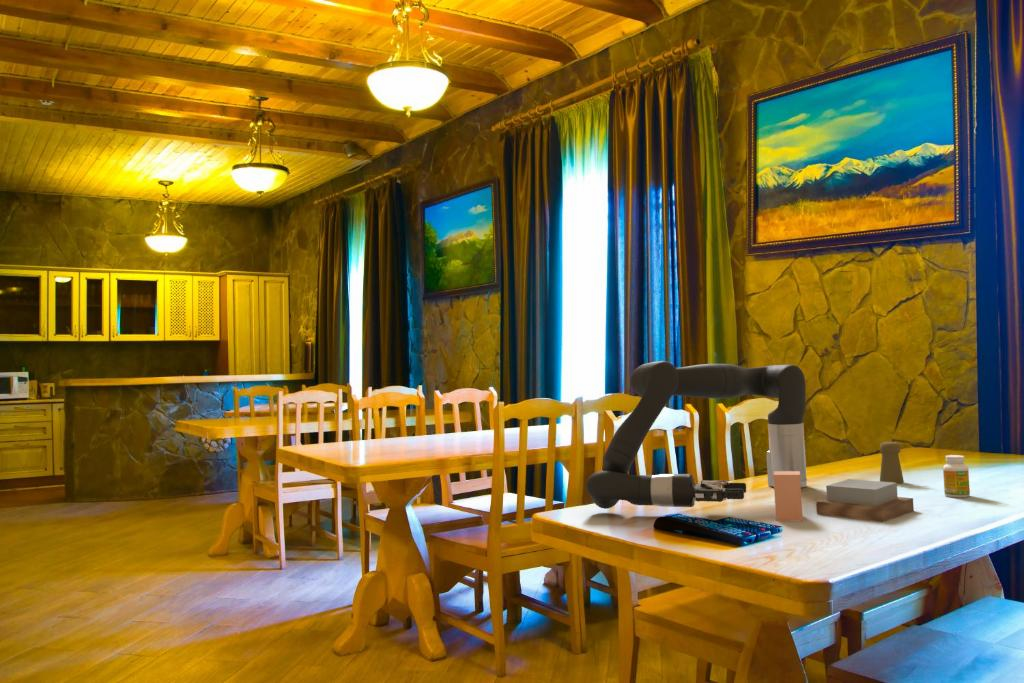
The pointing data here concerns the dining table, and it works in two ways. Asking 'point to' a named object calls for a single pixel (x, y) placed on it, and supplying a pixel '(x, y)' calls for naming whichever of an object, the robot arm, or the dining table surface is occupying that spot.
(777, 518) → the terracotta block
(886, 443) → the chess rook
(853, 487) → the slate top block
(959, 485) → the supplement bottle
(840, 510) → the walnut base block
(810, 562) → the dining table surface
